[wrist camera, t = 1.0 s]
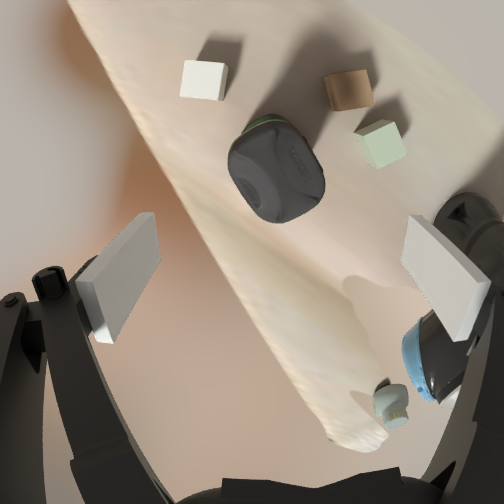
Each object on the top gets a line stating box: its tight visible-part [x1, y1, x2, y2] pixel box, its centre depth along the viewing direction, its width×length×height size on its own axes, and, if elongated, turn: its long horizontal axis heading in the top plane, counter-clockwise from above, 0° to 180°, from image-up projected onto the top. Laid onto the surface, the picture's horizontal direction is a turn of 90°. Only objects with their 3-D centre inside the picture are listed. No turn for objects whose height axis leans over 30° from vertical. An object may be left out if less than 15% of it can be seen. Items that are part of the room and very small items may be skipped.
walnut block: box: [323, 69, 375, 111], centre depth 36 cm, size 5×5×5 cm
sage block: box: [354, 119, 408, 169], centre depth 39 cm, size 5×5×5 cm
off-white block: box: [179, 60, 229, 101], centre depth 36 cm, size 5×5×5 cm
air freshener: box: [373, 384, 408, 429], centre depth 61 cm, size 11×8×10 cm
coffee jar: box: [228, 114, 325, 223], centre depth 34 cm, size 10×8×19 cm
